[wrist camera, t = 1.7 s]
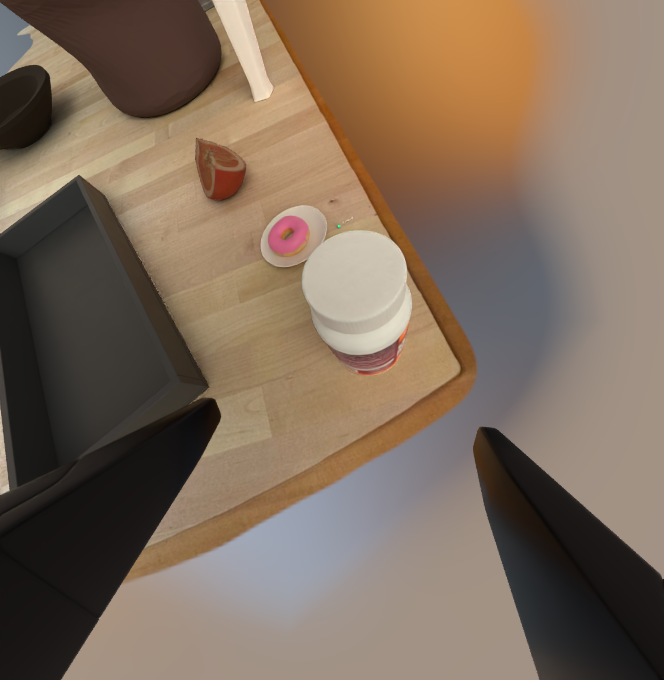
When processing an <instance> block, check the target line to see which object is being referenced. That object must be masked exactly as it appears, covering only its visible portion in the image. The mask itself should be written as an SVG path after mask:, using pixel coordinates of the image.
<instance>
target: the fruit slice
mask: <svg viewBox="0 0 664 680" xmlns="http://www.w3.org/2000/svg"><path fill="white" fill-rule="evenodd" d="M195 152H196V155H195V160H196V165H197V169H198V173H199V177H200V181H201V184H202V187H203V190H204V193H205V195H206V196H207V197H208V198H210V199H216V200H223V199H226V198H228V197H230V196H232V195H233V194H235V193H236V191H237V190H238V189H239V187H240V186H241V184H242V182H243V179H244V176H245V171H246V164H245V162H244V161H243V159H242V158H241V157H240V156H238V155H237V154H236V153H235V152H233V151H232V150H230V149H229V148H227V147H224V146H221V145H218V144H216V143H213V142H209V141H206V140H203V139H199V138H196V151H195Z"/></svg>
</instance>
